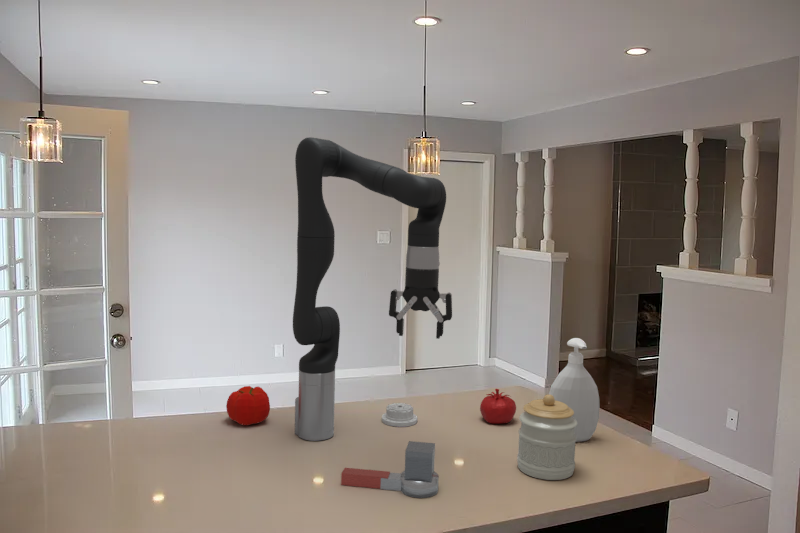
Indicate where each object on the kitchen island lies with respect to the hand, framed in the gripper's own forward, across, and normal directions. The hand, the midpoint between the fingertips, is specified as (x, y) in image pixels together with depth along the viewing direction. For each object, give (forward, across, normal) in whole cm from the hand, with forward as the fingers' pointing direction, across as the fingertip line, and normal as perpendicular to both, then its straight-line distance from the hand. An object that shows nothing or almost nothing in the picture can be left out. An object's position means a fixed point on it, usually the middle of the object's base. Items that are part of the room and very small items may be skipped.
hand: (419, 336), depth 144 cm
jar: (+30, +30, +3) cm, 42 cm away
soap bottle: (+30, +38, +24) cm, 54 cm away
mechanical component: (+30, -8, +28) cm, 42 cm away
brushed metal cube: (+27, +3, -14) cm, 30 cm away
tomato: (+30, -48, +17) cm, 59 cm away
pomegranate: (+30, +19, +35) cm, 50 cm away
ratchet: (+30, -4, -14) cm, 33 cm away
